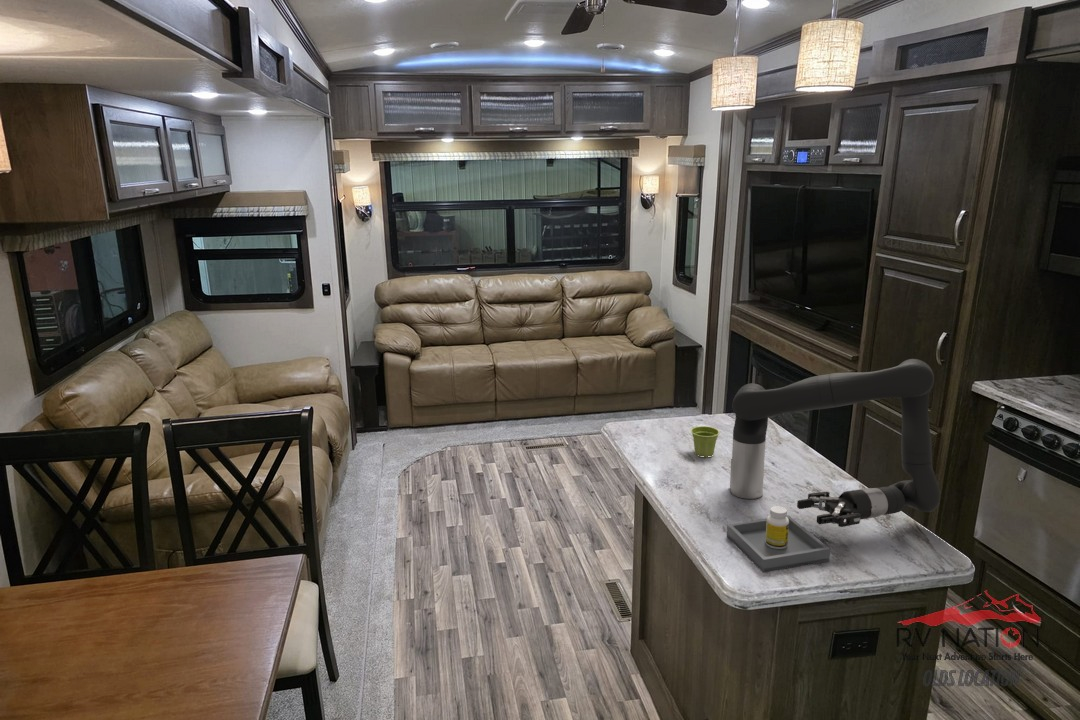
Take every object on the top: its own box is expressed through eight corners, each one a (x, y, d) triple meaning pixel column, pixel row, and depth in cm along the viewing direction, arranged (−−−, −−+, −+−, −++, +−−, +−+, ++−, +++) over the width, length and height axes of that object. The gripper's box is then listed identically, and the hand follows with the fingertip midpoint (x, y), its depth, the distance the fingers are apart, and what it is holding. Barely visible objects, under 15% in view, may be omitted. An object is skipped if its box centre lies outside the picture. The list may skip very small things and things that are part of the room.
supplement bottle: (788, 550, 174) (791, 515, 172) (766, 549, 176) (768, 513, 173) (786, 539, 180) (788, 505, 177) (764, 538, 181) (766, 503, 178)
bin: (726, 536, 184) (727, 524, 183) (787, 527, 188) (788, 515, 187) (763, 572, 167) (763, 559, 166) (829, 561, 171) (830, 548, 170)
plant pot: (722, 452, 239) (723, 428, 236) (713, 462, 231) (714, 437, 229) (696, 447, 243) (696, 424, 241) (686, 457, 236) (686, 433, 234)
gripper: (847, 479, 186) (792, 487, 183) (883, 502, 173) (825, 511, 169) (844, 505, 188) (790, 513, 185) (881, 530, 175) (823, 539, 171)
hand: (807, 512), depth 177 cm, fingers open, 8 cm apart
